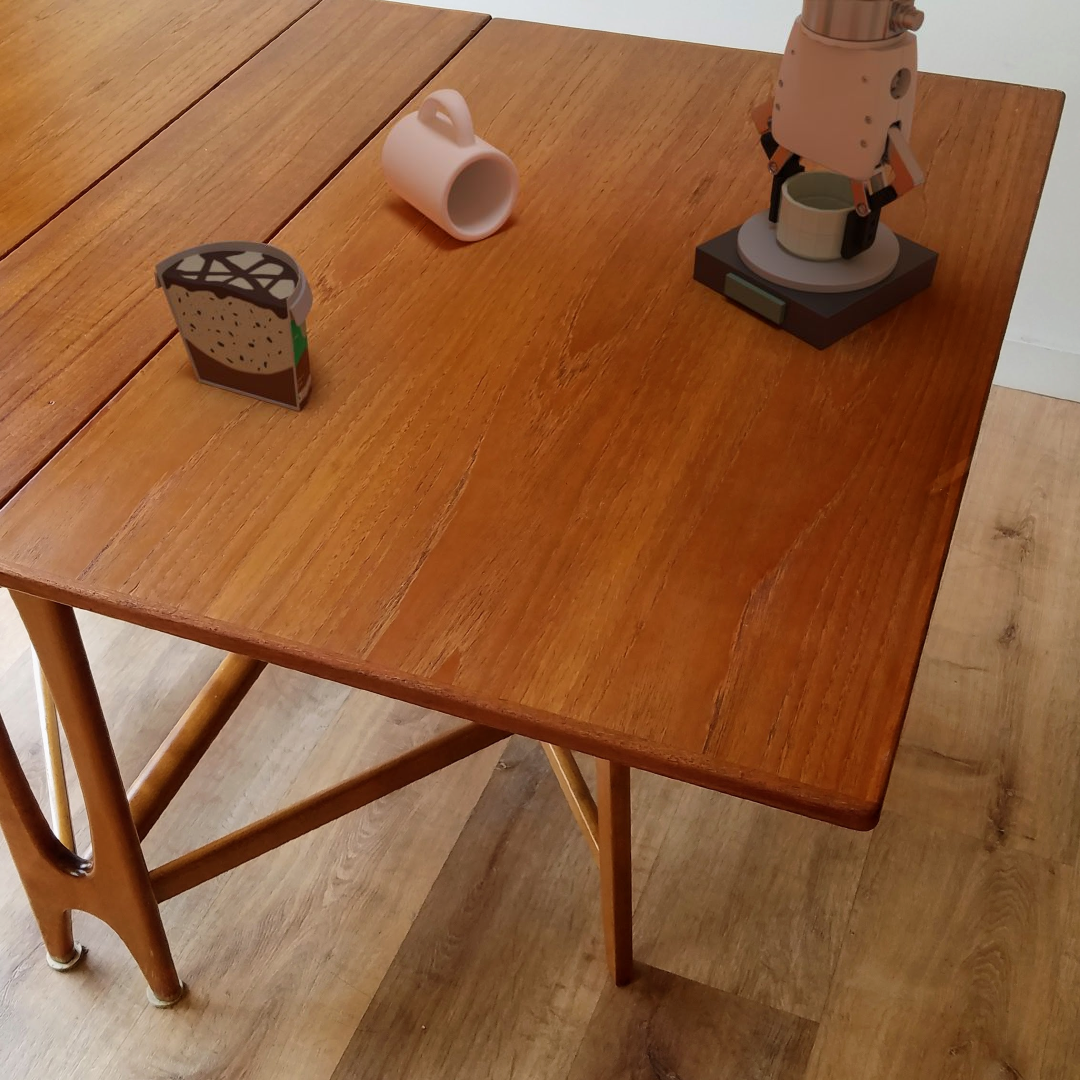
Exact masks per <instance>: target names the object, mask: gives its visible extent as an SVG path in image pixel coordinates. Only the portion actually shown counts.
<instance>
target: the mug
mask: <svg viewBox="0 0 1080 1080" xmlns="http://www.w3.org/2000/svg"><path fill="white" fill-rule="evenodd" d="M440 106H441V107H442V108H443V110H444V111H445V112H446V114H447V115H446V114H445V113H443V112H441V111H439V108H440ZM380 165H381V166H380V167H381V171H382V176H383V178H384V180H385V182H386V184H387V185H388V187H389V188H390V189H391V190H392V191H393V192H394V193H395V194H397V195H398V196H399V197H400V198H402V199H403V200H405V202H407V203H408V204H409V205H411V207H414V208H415V209H416V210H417V211H419V212H420V213H421V214H423V215H424V216H425V217H427V218H428V219H429V220H430V221H432V222H433V223H434V224H436V225H437V226H438V227H440V228H441V229H442V230H443V231H445V232H447V234H449V235H450V236H452V238H454V239H457V240H459V241H462V242H476V241H481V240H483V239H485V238H488V237H490V236H492V235H493V234H495V233H496V232H497V231H498V230H499V229H500V228H502V226H504V224H505V223H506V222H507V220H508V219H509V217H510V216H511V214H512V212H513V211H514V209H515V206H516V203H517V200H518V196H519V189H520V181H519V173H518V169H517V168H516V165H515V163H514V162H513V160H511V158H510V157H509V155H507V154H506V153H504V152H502V151H501V150H499V149H498V148H497V147H495V146H493V145H491V144H490V143H488V142H487V141H486V140H484V139H483V138H481V137H479V136H478V135H477V134H475V128H474V123H473V118H472V115H471V112H470V109H469V106H468V104H467V102H466V100H465V98H464V97H463V96H462V94H461V92H459V91H457V90H455V89H451V88H443V89H442V88H441V89H438V90H435V91H433V92H431V93H430V94H428V95H427V96H426V97H425V98H424V99H423V100H422V102H421V103H420V105H419V107H418V110H415V111H412V112H410V113H408V114H407V115H405V116H403V117H402V118H400V120H398V122H397V123H395V125H394V126H393V127H392V128H391V129H390V131H389V133H388V134H387V137H386V139H385V141H384V144H383V147H382V150H381V158H380Z"/></svg>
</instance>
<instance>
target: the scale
mask: <svg viewBox="0 0 1080 1080" xmlns="http://www.w3.org/2000/svg"><path fill="white" fill-rule="evenodd" d="M769 211H770V207H769V208H768V207H767V208H765V209H763V210H761V211H759V212H757V213H755V214H753V215H752V216H751V217H749V218H747V220H745V221H744V222H742V223H741V224H739V225H737V226H735V227H733V228H731V229H729V230H727V231H725V232H723V233H721V234H719V235H718V236H715V237H713V238H710V239H709V240H707V241H705V242H703V243H700V244H699V245H696V246H695V253H694V264H693V276H692V278H693V279H694V280H696V281H698V282H699V283H701V284H703V285H705V286H707V287H708V288H710V289H711V290H714V291H716V292H717V293H719V294H721V295H723V296H724V297H726V298H728V299H730V300H731V301H733V302H734V303H736V304H738V305H740V306H742V307H744V308H745V309H747V310H749V311H751V312H752V313H754V314H756V315H758V316H760V317H761V318H763V319H764V320H766V321H769V322H770V323H772V324H773V325H776V326H778V327H779V328H781V329H783V330H784V331H786V332H788V333H790V334H791V335H793V336H795V337H796V338H798V339H800V340H802V341H804V342H805V343H807V344H809V345H811V346H813V347H814V348H816V349H818V350H820V351H822V350H824V349H826V348H827V347H829V346H831V345H832V344H834V343H836V342H837V341H839V340H840V339H842V338H845V337H846V336H847V335H850V334H851V333H852V332H855V331H856V330H858V329H860V328H862V327H863V326H864V325H867V324H868V323H870V322H871V321H873V320H875V319H877V318H878V317H880V316H882V315H883V314H885V313H887V312H888V311H890V310H891V309H893V308H895V307H897V306H899V305H900V304H902V303H903V302H905V301H907V300H908V299H910V298H912V297H913V296H915V295H918V294H919V293H921V292H922V291H923V290H925V289H928V288H929V287H931V286H932V285H933V280H934V276H935V272H936V269H937V265H938V260H939V256H940V253H938V251H935V250H933V249H931V248H929V247H926V246H925V245H922V244H920V243H918V242H915V241H914V240H912V239H909V238H908V237H905V236H903V235H901V234H898V233H896V232H894V231H892V230H891V229H890V227H888V226H887V225H886V224H885V223H883V222H882V221H880V220H879V223H878V228H877V233H876V238H875V241H874V243H873V245H872V246H871V247H870V248H869V249H867V250H866V251H864V252H862V253H860V254H858V255H856V256H855V257H853V258H851V259H849V260H846V259H844V258H842V257H840V258H837V259H832V260H813V259H807V258H803V257H800V256H797V255H795V254H793V253H791V252H790V251H788V250H787V249H786V248H785V247H784V246H783V245H782V244H781V243H780V242H779V241H778V239H777V237H776V225H777V223H773V222H771V221H769Z"/></svg>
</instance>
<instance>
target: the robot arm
mask: <svg viewBox="0 0 1080 1080" xmlns="http://www.w3.org/2000/svg"><path fill="white" fill-rule="evenodd" d="M924 21H925V12H924V11H923V10H920V9H917V7H916V6H915V0H802V6H801V13H800V14H798V15H797V16H796V18H794V21H793V25H792V27H791V30H790V32H789V36H788V39H787V42H786V45H785V48H784V52H783V56H782V60H781V63H780V69H779V74H778V77H777V83H776V87H775V94H774V96H772V97H770V98H769V99H767V100H765V101H764V102H763V103H761V104H759V105H758V106H756V107H754V108H753V109H751V114H750V115H751V118H752V121H753V124H754V126H755V128H756V130H757V132H758V135H760V140H759V141H760V144H761V147H762V149H763V151H764V153H765V155H766V157H767V159H768V161H767V162H768V163H767V169H768V172H769V173H770V174H771V176H772V175H773V177H772V183H771V192H770V200H769V203H770V204H769V208H770V211H769V221H771V222H773V223H777V218H778V210H779V203H780V196H781V188H782V185H783V184H784V182H785V181H786V180H787V178H789V177H791V176H793V175H795V174H797V173H801V172H806V171H805V170H806V166H805V165H802V164H801V162H802V160H803V159H806V160H808V161H810V162H812V163H815V164H817V165H819V166H821V167H823V168H826V169H827V170H829V171H835V172H837V173H839V174H841V175H844V176H846V177H848V178H849V181H850V185H851V190H852V195H853V200H854V205H855V210H852V211H850V212H849V213H848V215H847V220H846V225H845V231H844V236H843V242H842V247H841V253H840V254H841V257H842V258H844V259H846V260H849V259H851V258H853V257H855V256H856V255H858V254H860V253H862V252H864V251H866V250H867V249H869V248H870V247H871V246H872V245H873V243H874V241H875V238H876V233H877V228H878V223H879V221H880V217H881V213H882V209H883V208H884V207H885V206H887V205H890V204H891V203H893V202H894V201H896V200H898V199H900V198H902V197H903V196H905V195H906V194H907V193H909V192H911V191H912V190H914V189H915V188H917V187H918V186H920V185H921V184H923V183H924V182H925V174H924V171H923V169H922V168H921V166H920V164H919V162H918V161H917V159H916V157H915V155H914V154H913V152H912V149H911V147H910V146H909V143H910V137H911V132H912V125H913V119H914V111H915V104H916V94H917V83H918V58H919V57H918V56H919V55H918V38H917V37H918V36H917V35H916V34H915V32H918V30H920V29H921V27H922V25H923V23H924ZM913 32H914V33H913ZM885 165H887V166H890V167H891V169H892V171H893V172H894V180H893V181H892V182H890V183H889V182H888V175H887V171H886V166H885ZM868 181H869V182H868ZM868 183H870V187H871V192H870V188H869V184H868ZM869 192H870V193H869ZM871 193H872V194H871Z"/></svg>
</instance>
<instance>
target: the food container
mask: <svg viewBox="0 0 1080 1080" xmlns="http://www.w3.org/2000/svg"><path fill="white" fill-rule="evenodd" d="M154 268H155V271H153V272H154V283H155V289H157V290H160V289H161V288H162V290H163V293H164V296H165V298H166V301H167V304H168V306H169V308H170V312H171V315H172V316H173V319H174V322H175V325H176V327H177V330H178V333H179V336H180V337H181V341H182V343H183V345H184V348H185V351H186V354H187V356H188V359H189V361H190V364H191V367H192V369H193V372H194V375H195V377H196V380H197V382H198V383H200V384H203V385H208V386H211V387H215V388H217V389H222V390H225V391H228V392H232V393H234V394H239V395H242V396H245V397H249V398H251V399H255V400H259V401H261V402H266V403H269V404H271V405H275V406H279V407H281V408H285V409H289V410H293V411H296V412H299V413H301V411H303V409H304V408H305V407H306V406H307V404H308V402H309V399H310V396H311V393H312V390H313V388H312V377H311V366H310V353H309V342H308V331H307V320H306V319H307V318H308V315H309V314H310V312H311V309H312V307H313V302H314V300H313V299H314V296H313V291H312V288H311V286H310V283H309V281H308V278H307V276H306V274H305V272H304V270H303V269H302V267H301V265H299V264H298V263H297V261H296V259H295V258H293V256H292V255H291V254H289V253H287V252H286V251H285V250H283V249H281V248H279V247H277V246H275V245H271V244H268V243H263V242H258V241H253V240H251V241H250V240H223V241H222V240H221V241H214V242H208V243H207V242H206V243H203V244H199V245H195V246H191V247H189V248H186V249H183V250H180V251H178V252H175V253H173V254H171V255H169V256H168V257H166V258H163V259H162V260H161V261H159V262H157V263H156V264H154Z"/></svg>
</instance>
